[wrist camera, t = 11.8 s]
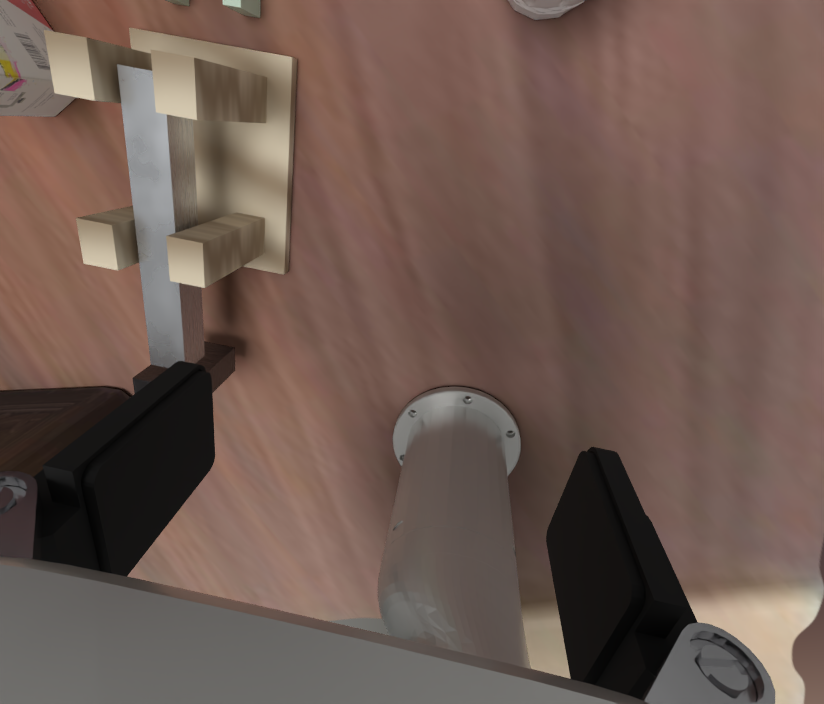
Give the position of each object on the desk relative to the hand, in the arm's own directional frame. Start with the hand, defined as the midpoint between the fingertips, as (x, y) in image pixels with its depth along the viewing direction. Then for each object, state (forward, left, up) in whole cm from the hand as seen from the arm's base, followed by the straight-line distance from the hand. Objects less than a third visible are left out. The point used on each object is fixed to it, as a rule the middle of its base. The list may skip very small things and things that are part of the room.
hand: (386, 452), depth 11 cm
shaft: (-4, +19, -26) cm, 32 cm away
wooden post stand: (+2, +19, -28) cm, 34 cm away
